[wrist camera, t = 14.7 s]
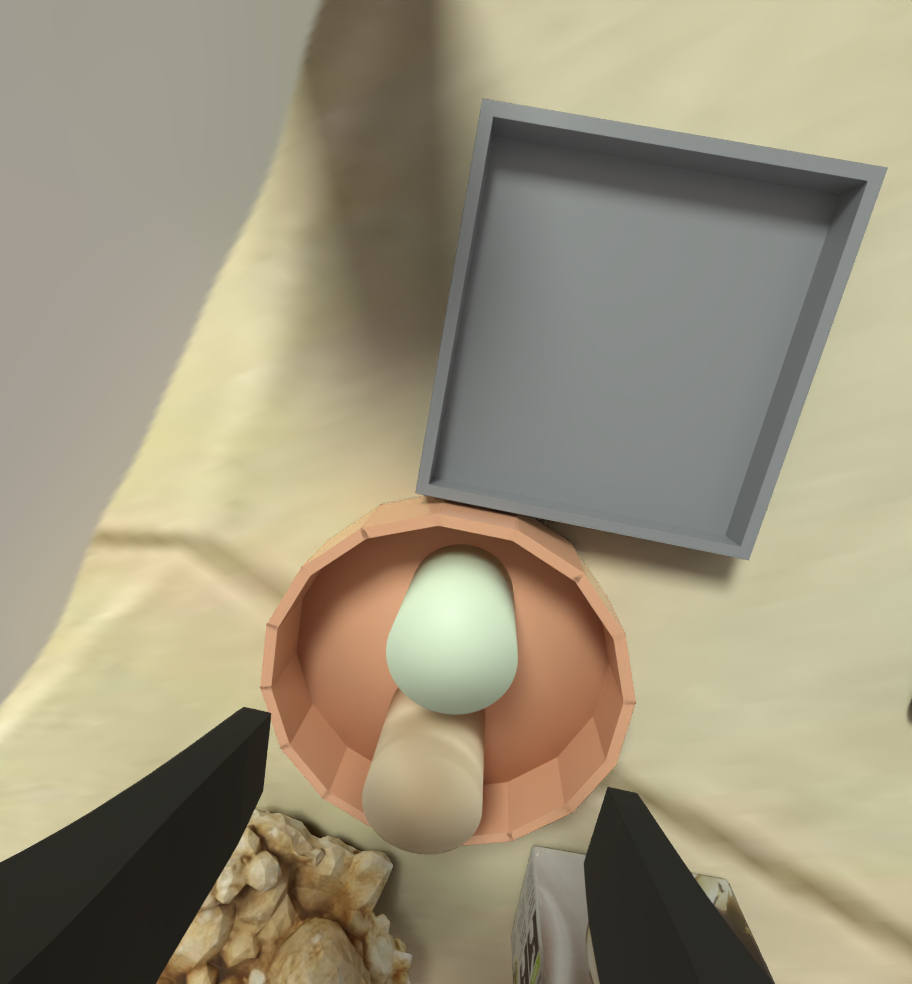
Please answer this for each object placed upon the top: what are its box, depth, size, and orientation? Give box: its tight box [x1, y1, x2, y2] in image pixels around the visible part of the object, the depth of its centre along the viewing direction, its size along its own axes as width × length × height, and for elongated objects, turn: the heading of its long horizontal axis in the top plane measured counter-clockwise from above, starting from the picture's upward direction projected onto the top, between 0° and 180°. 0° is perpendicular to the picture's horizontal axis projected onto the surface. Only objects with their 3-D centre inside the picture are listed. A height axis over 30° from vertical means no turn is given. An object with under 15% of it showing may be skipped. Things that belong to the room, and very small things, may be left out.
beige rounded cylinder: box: [362, 687, 485, 854], centre depth 19 cm, size 4×4×4 cm
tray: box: [416, 99, 887, 560], centre depth 17 cm, size 12×12×2 cm
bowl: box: [260, 496, 636, 846], centre depth 19 cm, size 13×13×3 cm
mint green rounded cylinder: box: [386, 544, 518, 715], centre depth 17 cm, size 4×4×4 cm
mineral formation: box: [156, 809, 413, 984], centre depth 21 cm, size 8×13×15 cm
